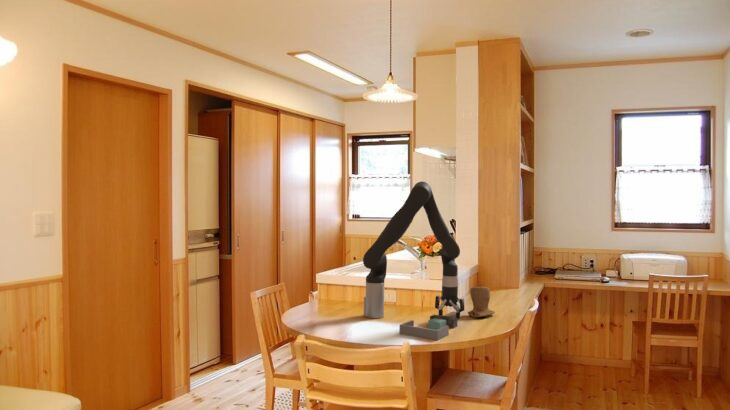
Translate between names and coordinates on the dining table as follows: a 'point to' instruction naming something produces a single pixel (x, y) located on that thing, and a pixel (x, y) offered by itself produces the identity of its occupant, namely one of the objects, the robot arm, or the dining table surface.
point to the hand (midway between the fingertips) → (449, 318)
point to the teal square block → (436, 323)
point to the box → (423, 331)
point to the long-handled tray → (447, 319)
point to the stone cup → (480, 302)
